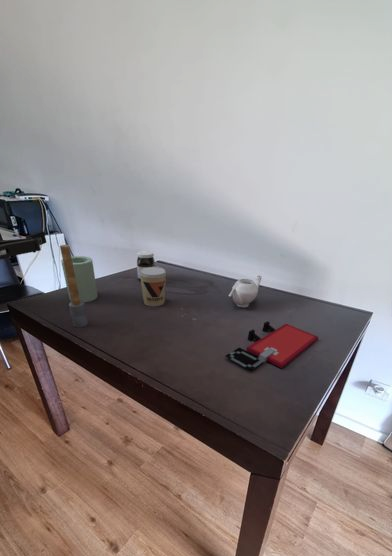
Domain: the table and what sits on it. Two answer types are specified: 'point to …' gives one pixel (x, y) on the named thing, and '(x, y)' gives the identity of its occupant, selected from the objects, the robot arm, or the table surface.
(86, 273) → the green cylindrical holder
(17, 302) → the table surface
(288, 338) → the red board with handle
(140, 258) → the spread jar
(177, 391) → the table surface
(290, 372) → the table surface
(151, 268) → the coffee cup
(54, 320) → the table surface
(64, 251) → the bottle brush
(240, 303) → the teapot
